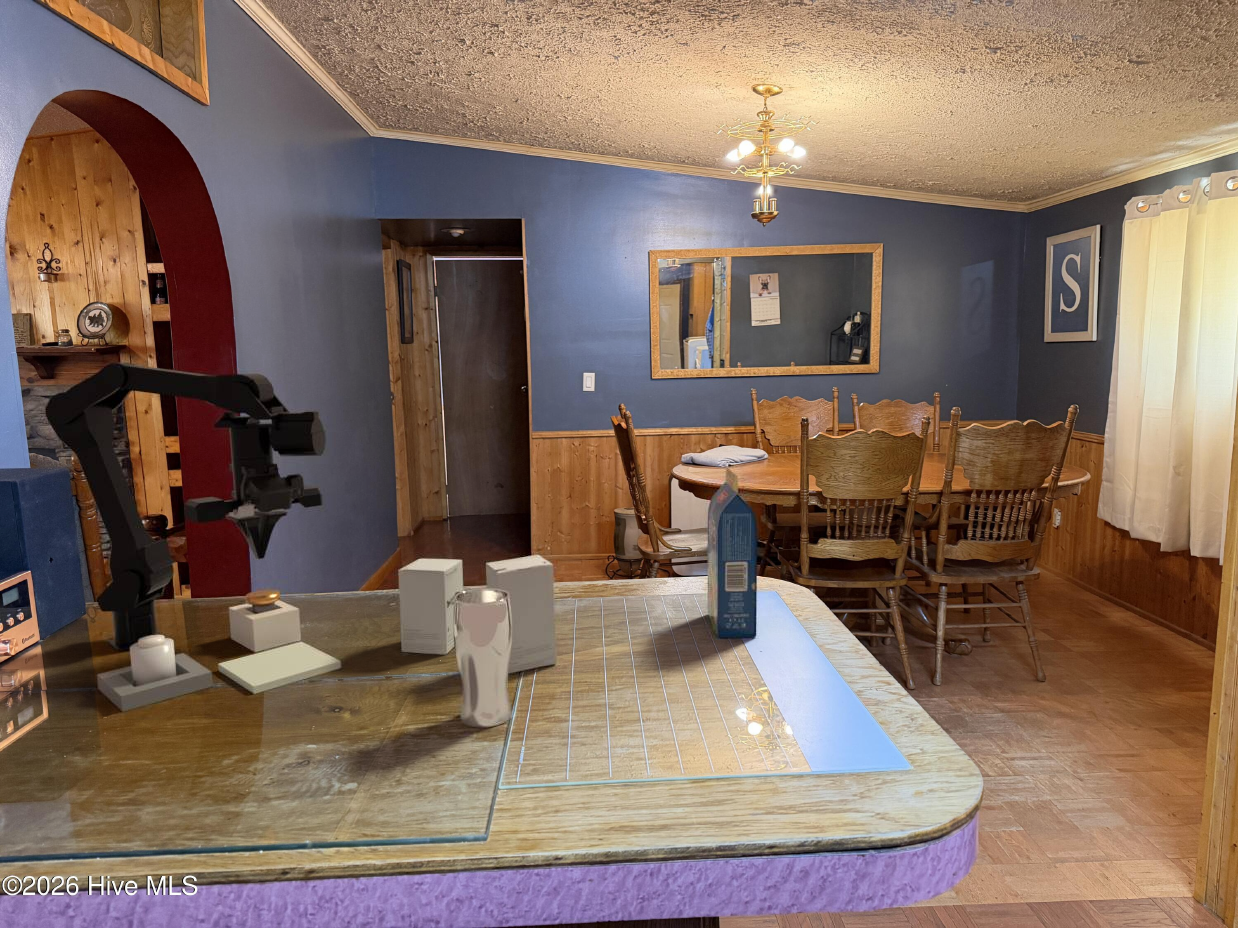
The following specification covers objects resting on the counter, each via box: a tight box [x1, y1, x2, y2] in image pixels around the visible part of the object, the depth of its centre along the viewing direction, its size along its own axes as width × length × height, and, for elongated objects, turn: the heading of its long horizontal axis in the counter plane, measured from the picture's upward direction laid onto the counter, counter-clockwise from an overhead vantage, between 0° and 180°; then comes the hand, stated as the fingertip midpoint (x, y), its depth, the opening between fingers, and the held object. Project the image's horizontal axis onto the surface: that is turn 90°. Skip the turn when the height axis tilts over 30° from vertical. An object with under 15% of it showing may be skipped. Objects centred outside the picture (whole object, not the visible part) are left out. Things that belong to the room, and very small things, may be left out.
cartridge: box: [129, 634, 176, 687], centre depth 107 cm, size 5×5×7 cm
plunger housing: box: [228, 599, 302, 653], centre depth 126 cm, size 9×7×5 cm
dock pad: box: [217, 641, 342, 695], centre depth 114 cm, size 12×12×1 cm
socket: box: [96, 652, 214, 712], centre depth 108 cm, size 11×11×2 cm
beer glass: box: [453, 587, 513, 729], centre depth 97 cm, size 7×7×15 cm
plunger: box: [245, 589, 281, 614], centre depth 126 cm, size 5×5×6 cm
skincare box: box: [485, 554, 558, 675], centre depth 113 cm, size 8×6×15 cm
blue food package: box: [707, 465, 758, 639], centre depth 128 cm, size 6×12×25 cm, turn 1°
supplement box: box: [397, 558, 464, 655], centre depth 122 cm, size 7×7×13 cm
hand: (260, 558), depth 124 cm, fingers closed
